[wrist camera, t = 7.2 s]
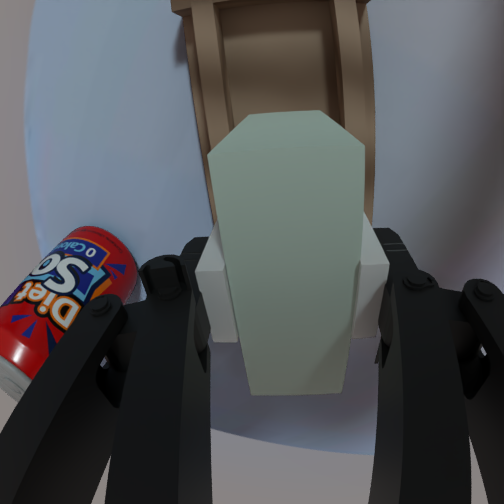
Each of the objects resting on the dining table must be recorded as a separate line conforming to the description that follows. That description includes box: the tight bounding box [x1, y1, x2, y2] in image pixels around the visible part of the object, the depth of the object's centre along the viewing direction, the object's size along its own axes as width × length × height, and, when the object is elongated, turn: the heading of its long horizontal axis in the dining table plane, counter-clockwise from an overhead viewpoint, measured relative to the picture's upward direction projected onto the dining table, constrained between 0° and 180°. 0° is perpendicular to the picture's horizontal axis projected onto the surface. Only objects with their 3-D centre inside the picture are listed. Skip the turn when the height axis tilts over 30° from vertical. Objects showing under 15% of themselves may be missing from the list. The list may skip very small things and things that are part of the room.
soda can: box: [0, 226, 137, 402], centre depth 20 cm, size 8×8×15 cm
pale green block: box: [207, 110, 365, 396], centre depth 13 cm, size 9×4×9 cm, turn 6°
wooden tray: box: [171, 0, 375, 226], centre depth 19 cm, size 24×11×3 cm, turn 6°
